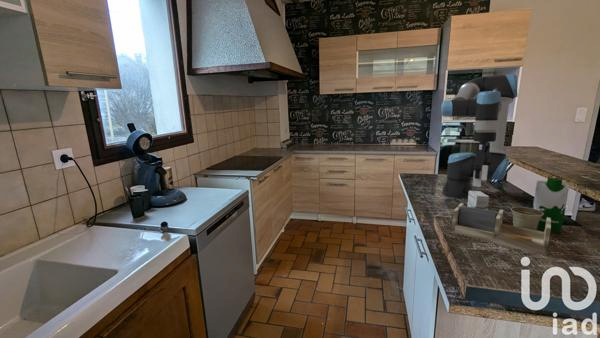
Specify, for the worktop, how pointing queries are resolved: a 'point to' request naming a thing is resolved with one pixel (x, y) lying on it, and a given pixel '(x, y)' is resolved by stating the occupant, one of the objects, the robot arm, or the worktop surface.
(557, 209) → the milk carton
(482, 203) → the ink box
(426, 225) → the worktop surface
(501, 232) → the rack
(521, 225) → the flower pot
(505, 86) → the robot arm
